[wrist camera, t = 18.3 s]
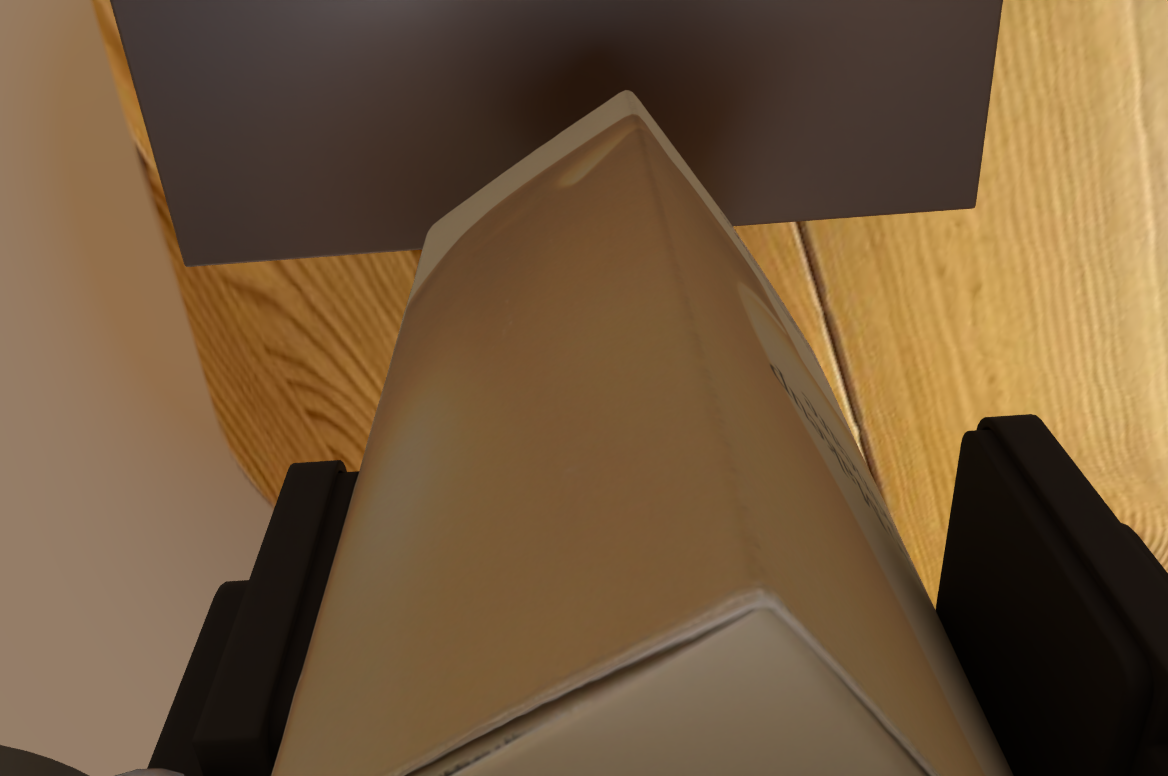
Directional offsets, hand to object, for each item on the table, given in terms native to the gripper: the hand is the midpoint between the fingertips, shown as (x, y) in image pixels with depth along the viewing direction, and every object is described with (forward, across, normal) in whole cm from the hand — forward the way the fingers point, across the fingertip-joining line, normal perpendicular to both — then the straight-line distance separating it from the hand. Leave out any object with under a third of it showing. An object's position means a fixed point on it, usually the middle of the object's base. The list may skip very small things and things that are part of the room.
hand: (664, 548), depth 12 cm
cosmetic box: (+7, 0, 0) cm, 7 cm away
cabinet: (+25, +1, -4) cm, 25 cm away
